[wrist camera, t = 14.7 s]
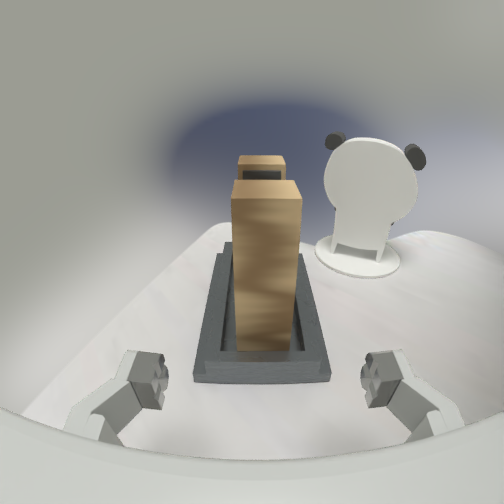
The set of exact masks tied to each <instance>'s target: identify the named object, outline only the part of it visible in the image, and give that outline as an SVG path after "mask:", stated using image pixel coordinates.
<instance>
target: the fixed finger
mask: <svg viewBox="0 0 504 504" xmlns="http://www.w3.org/2000/svg"><path fill="white" fill-rule="evenodd" d="M285 176H286V164H285V162H284V159H283V157H282V156H240V158H239V162H238V180H285Z"/></svg>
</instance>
